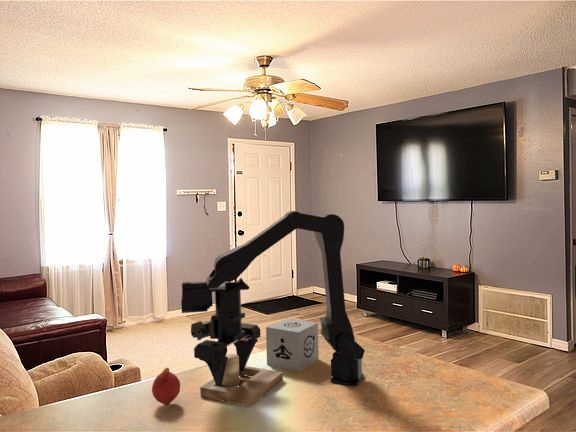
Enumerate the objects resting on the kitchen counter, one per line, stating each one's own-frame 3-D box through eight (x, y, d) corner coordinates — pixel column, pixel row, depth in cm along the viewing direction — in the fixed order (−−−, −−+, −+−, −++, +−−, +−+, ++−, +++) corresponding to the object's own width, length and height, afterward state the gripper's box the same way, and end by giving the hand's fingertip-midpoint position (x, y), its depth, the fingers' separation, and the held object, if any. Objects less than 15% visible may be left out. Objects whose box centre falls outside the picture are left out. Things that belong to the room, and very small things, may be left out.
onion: (173, 412, 95) (171, 374, 95) (147, 410, 96) (146, 372, 96) (185, 399, 101) (183, 363, 100) (160, 398, 102) (159, 362, 101)
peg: (243, 389, 105) (242, 355, 105) (233, 397, 101) (232, 361, 101) (228, 386, 107) (227, 353, 107) (218, 393, 103) (217, 358, 103)
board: (282, 380, 110) (282, 372, 110) (250, 406, 97) (250, 397, 97) (236, 372, 116) (236, 364, 116) (200, 395, 102) (200, 387, 102)
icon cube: (287, 353, 129) (286, 318, 129) (318, 359, 124) (317, 322, 123) (266, 364, 121) (266, 327, 120) (299, 371, 115) (298, 332, 115)
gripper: (222, 298, 115) (223, 359, 116) (172, 316, 99) (175, 388, 99) (260, 301, 110) (262, 365, 111) (215, 321, 94) (217, 396, 94)
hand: (230, 378), depth 104 cm, fingers open, 9 cm apart
